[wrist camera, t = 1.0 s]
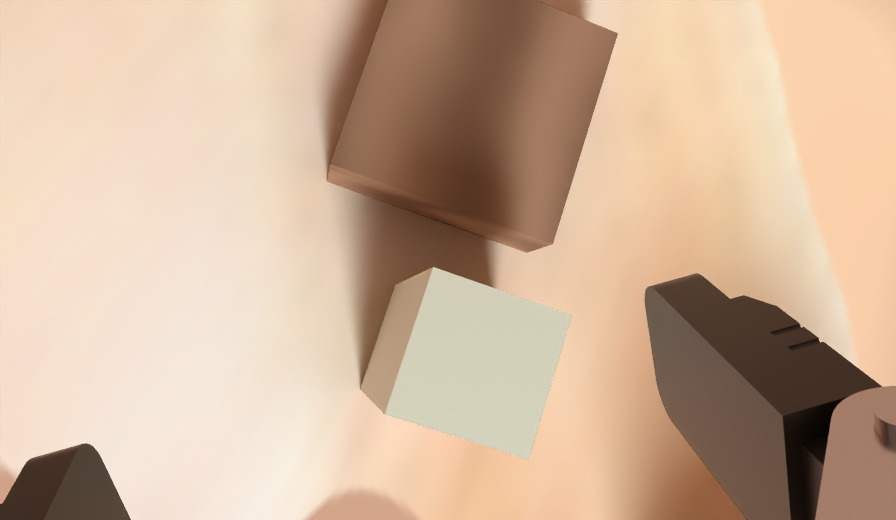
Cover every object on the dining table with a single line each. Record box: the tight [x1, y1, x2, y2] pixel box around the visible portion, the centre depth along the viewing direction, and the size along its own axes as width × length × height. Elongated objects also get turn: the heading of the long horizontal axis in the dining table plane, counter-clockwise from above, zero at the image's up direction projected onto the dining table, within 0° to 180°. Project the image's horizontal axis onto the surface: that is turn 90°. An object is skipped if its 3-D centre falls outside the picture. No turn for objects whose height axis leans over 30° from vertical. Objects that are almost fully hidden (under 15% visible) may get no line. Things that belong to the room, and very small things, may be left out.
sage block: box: [360, 267, 572, 460], centre depth 32 cm, size 5×5×11 cm
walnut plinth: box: [327, 0, 618, 252], centre depth 36 cm, size 10×10×4 cm
